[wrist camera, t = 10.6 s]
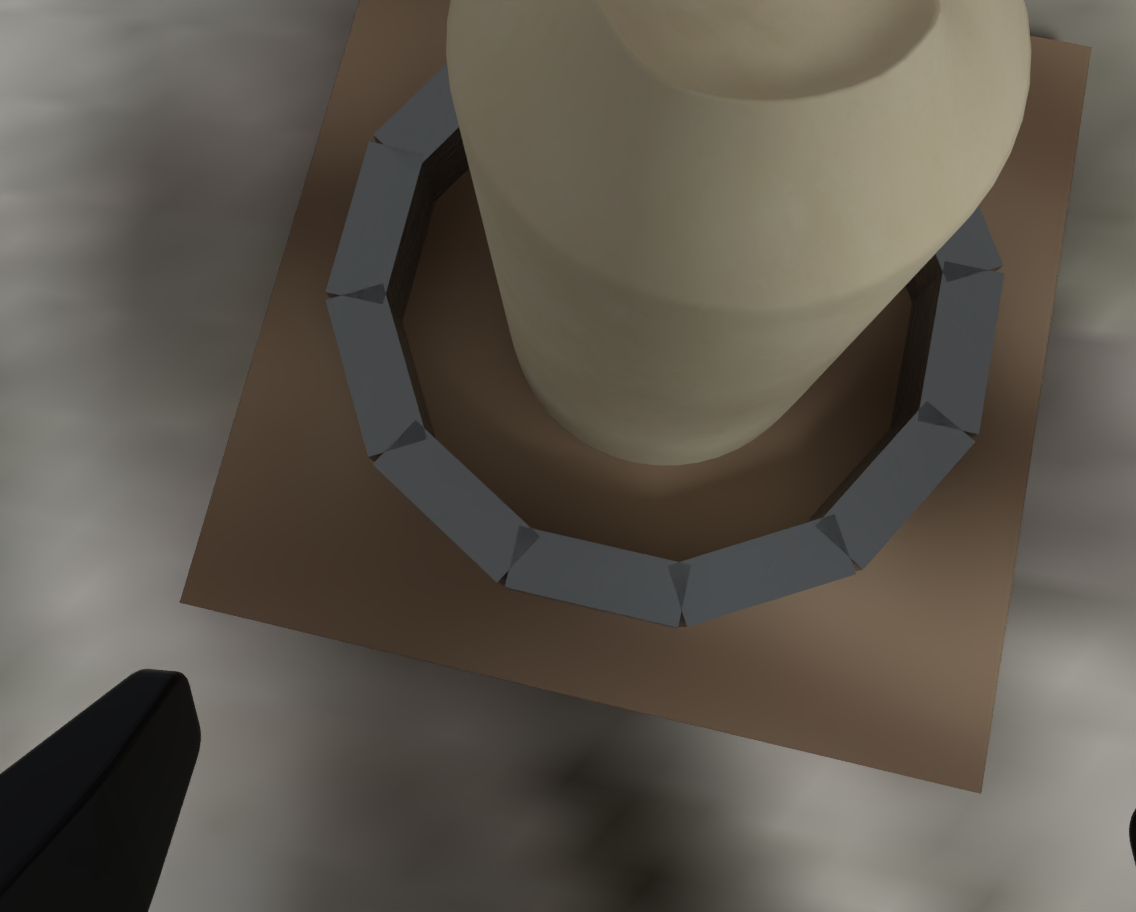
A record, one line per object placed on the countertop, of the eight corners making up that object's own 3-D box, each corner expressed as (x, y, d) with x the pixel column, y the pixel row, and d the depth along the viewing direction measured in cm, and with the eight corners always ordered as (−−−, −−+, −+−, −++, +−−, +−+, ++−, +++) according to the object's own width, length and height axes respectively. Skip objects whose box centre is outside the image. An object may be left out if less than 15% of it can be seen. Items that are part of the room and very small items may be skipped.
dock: (957, 783, 17) (1022, 810, 14) (202, 603, 18) (139, 600, 15) (1065, 77, 19) (1136, -5, 17) (395, -54, 20) (369, -151, 17)
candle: (646, 124, 18) (721, -479, 8) (876, 307, 17) (1261, -115, 7) (449, 335, 17) (274, -48, 8) (681, 534, 17) (822, 398, 7)
